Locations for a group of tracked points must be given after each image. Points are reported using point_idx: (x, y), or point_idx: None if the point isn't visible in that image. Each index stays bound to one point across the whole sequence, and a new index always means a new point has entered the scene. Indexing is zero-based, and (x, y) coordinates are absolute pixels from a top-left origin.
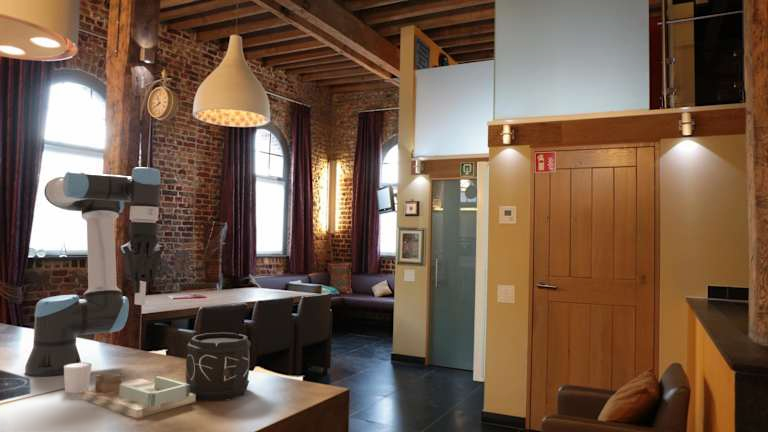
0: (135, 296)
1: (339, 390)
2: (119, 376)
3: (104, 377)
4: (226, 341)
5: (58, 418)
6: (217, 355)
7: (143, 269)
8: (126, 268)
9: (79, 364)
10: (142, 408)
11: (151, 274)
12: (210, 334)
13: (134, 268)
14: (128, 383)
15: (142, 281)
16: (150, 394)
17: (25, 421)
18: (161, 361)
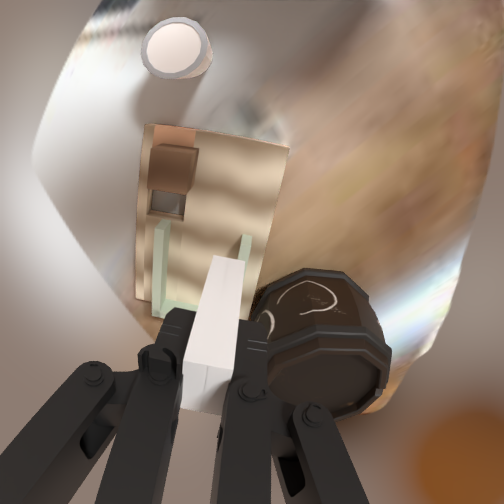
0: (205, 286)
1: (373, 409)
2: (181, 193)
3: (150, 180)
4: (333, 391)
5: (74, 192)
6: None
7: (213, 489)
8: (31, 441)
9: (183, 41)
10: (144, 299)
11: (278, 464)
12: (363, 356)
13: (112, 472)
14: (240, 159)
15: (215, 396)
16: (152, 313)
17: (45, 164)
18: (471, 57)
